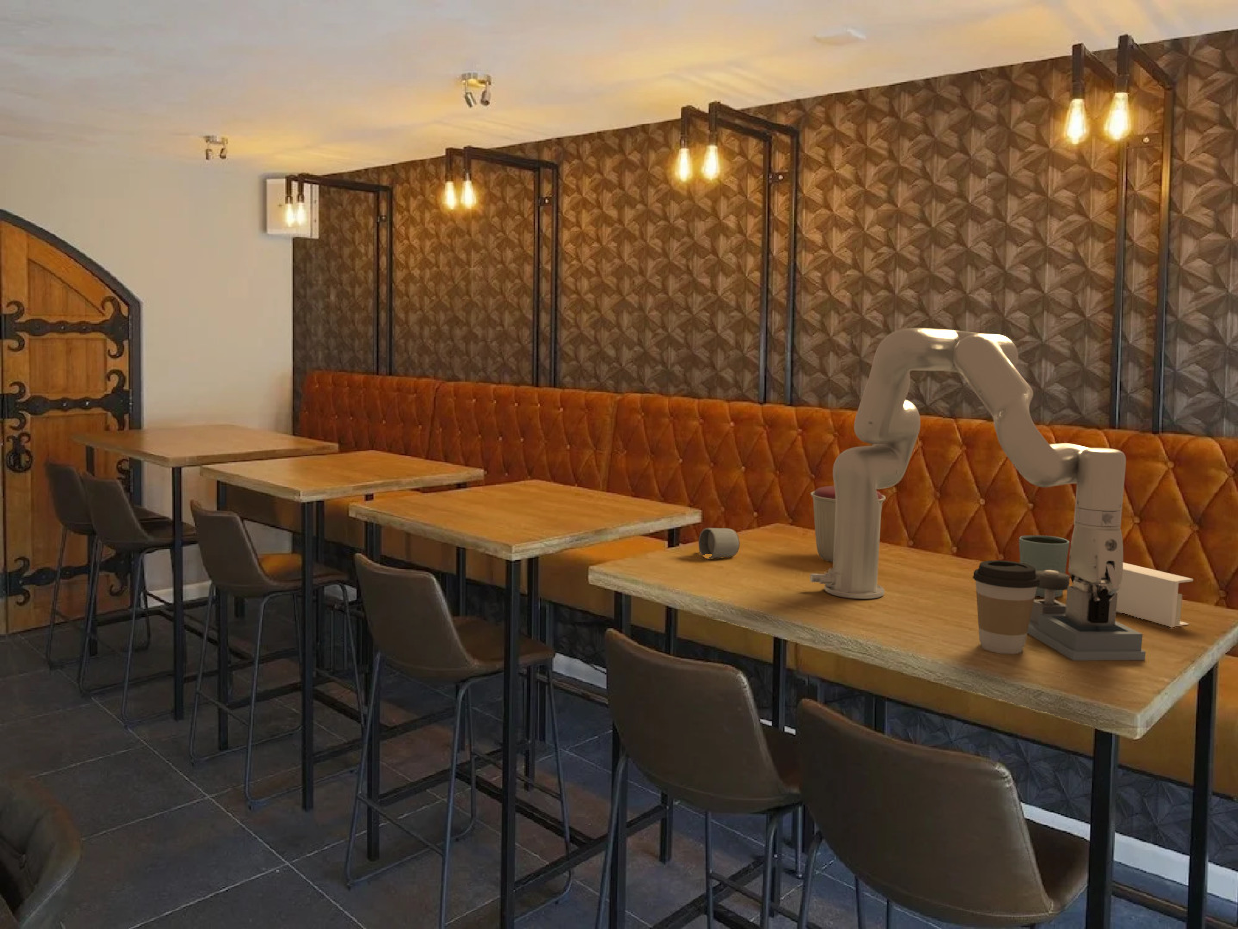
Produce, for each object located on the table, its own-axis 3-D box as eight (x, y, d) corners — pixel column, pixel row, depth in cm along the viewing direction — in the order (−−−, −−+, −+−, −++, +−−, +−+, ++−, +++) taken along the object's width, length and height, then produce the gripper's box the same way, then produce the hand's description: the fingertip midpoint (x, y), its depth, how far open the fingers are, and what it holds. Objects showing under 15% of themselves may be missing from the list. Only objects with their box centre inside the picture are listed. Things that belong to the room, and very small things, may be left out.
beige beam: (1189, 626, 198) (1194, 579, 197) (1170, 629, 196) (1175, 581, 195) (1102, 601, 216) (1105, 558, 215) (1083, 603, 214) (1087, 560, 212)
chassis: (1073, 660, 174) (1075, 629, 173) (1013, 624, 196) (1014, 596, 195) (1144, 660, 175) (1147, 629, 175) (1077, 624, 197) (1079, 596, 196)
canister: (793, 555, 256) (797, 472, 253) (853, 550, 263) (857, 470, 260) (835, 570, 239) (839, 482, 236) (897, 565, 246) (902, 480, 243)
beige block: (1114, 626, 179) (1118, 586, 178) (1079, 626, 178) (1082, 586, 177) (1099, 618, 184) (1102, 579, 183) (1064, 618, 183) (1067, 579, 182)
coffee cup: (1019, 639, 186) (1025, 559, 184) (1047, 658, 175) (1053, 573, 173) (958, 638, 186) (963, 558, 184) (982, 657, 175) (988, 572, 173)
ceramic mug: (741, 559, 250) (742, 528, 249) (714, 562, 246) (715, 530, 245) (716, 551, 259) (717, 522, 258) (690, 554, 255) (690, 524, 254)
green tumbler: (1070, 599, 216) (1074, 544, 215) (1020, 596, 218) (1023, 542, 217) (1059, 588, 226) (1063, 536, 225) (1011, 585, 228) (1015, 533, 227)
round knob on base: (1041, 611, 188) (1043, 575, 187) (1024, 602, 194) (1026, 567, 193) (1073, 611, 188) (1076, 575, 187) (1056, 602, 195) (1059, 567, 194)
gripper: (1146, 527, 171) (1137, 631, 173) (1091, 510, 187) (1083, 605, 190) (1104, 526, 170) (1095, 632, 172) (1052, 510, 187) (1045, 605, 189)
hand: (1089, 617), depth 181 cm, fingers closed on beige block, 5 cm apart
